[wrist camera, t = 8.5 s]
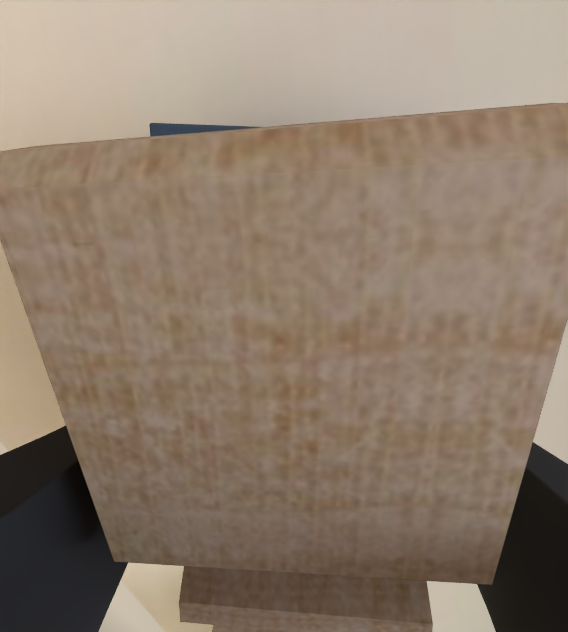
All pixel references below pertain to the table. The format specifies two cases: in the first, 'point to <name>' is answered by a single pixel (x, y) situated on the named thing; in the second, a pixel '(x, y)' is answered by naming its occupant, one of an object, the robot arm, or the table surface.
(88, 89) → the table surface
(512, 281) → the toy train
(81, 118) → the table surface
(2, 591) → the robot arm
